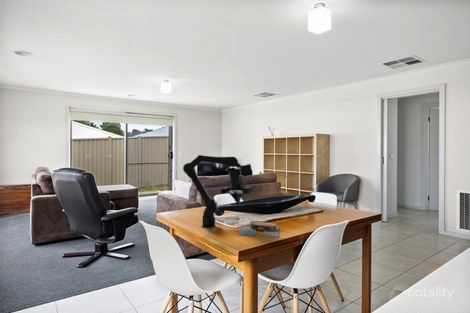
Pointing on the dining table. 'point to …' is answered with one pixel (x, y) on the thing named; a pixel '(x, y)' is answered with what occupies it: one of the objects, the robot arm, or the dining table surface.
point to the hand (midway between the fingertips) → (238, 204)
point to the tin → (263, 225)
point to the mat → (251, 232)
